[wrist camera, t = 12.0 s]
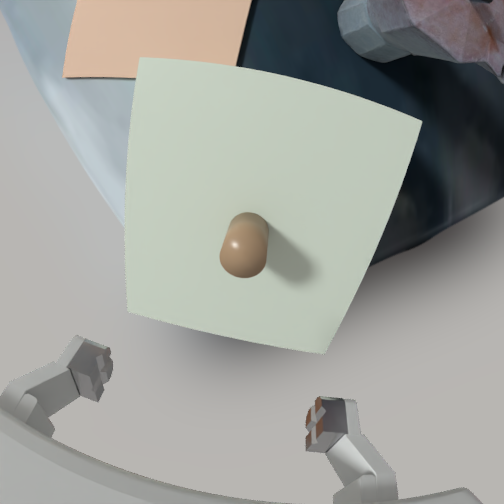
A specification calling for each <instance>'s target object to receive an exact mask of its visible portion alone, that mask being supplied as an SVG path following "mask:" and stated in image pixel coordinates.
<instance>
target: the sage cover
mask: <svg viewBox="0 0 504 504" xmlns="http://www.w3.org/2000/svg"><path fill="white" fill-rule="evenodd" d="M421 124H422V121H420V120H418V119H416V118H413V117H411V116H409V115H406V114H404V113H401V112H399V111H396V110H394V109H391V108H389V107H386V106H383V105H381V104H378V103H375V102H372V101H370V100H367V99H364V98H361V97H358V96H355V95H352V94H349V93H346V92H342V91H339V90H336V89H333V88H329V87H326V86H322V85H319V84H315V83H311V82H307V81H303V80H299V79H295V78H291V77H287V76H283V75H278V74H273V73H269V72H264V71H259V70H253V69H248V68H242V67H236V66H230V65H223V64H216V63H208V62H200V61H191V60H180V59H167V58H149V57H140V58H139V64H138V70H137V76H136V83H135V90H134V97H133V104H132V113H131V122H130V131H129V142H128V155H127V170H126V190H125V273H126V274H125V275H126V295H127V309H128V312H131V313H134V314H137V315H142V316H145V317H148V318H152V319H156V320H159V321H163V322H167V323H171V324H176V325H179V326H183V327H187V328H191V329H195V330H200V331H204V332H208V333H213V334H217V335H222V336H226V337H231V338H236V339H240V340H245V341H250V342H255V343H260V344H265V345H271V346H276V347H282V348H287V349H293V350H299V351H306V352H311V353H318V354H325V352H326V350H327V349H328V347H329V345H330V343H331V341H332V339H333V337H334V335H335V334H336V331H337V330H338V328H339V326H340V324H341V322H342V320H343V318H344V316H345V314H346V312H347V310H348V308H349V306H350V304H351V302H352V300H353V298H354V296H355V294H356V292H357V290H358V287H359V286H360V283H361V281H362V279H363V277H364V275H365V273H366V270H367V268H368V266H369V264H370V262H371V259H372V257H373V255H374V253H375V250H376V248H377V246H378V243H379V241H380V239H381V236H382V234H383V231H384V229H385V226H386V224H387V222H388V219H389V217H390V214H391V211H392V209H393V206H394V204H395V201H396V198H397V196H398V193H399V190H400V188H401V185H402V182H403V179H404V177H405V174H406V171H407V168H408V165H409V162H410V159H411V156H412V153H413V150H414V147H415V144H416V141H417V137H418V134H419V131H420V128H421Z"/></svg>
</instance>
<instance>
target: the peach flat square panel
mask: <svg viewBox="0 0 504 504" xmlns="http://www.w3.org/2000/svg"><path fill="white" fill-rule="evenodd" d="M251 3H252V0H77V4H76V8H75V12H74V16H73V20H72V25H71V29H70V34H69V39H68V44H67V50H66V56H65V62H64V69H63V76H62V78H66V77H124V78H136V76H137V70H138V64H139V58H140V57H149V58H167V59H180V60H191V61H200V62H208V63H216V64H223V65H230V66H236V65H237V61H238V56H239V52H240V48H241V43H242V39H243V35H244V31H245V27H246V22H247V18H248V14H249V10H250V6H251Z"/></svg>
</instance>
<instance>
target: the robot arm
mask: <svg viewBox="0 0 504 504" xmlns="http://www.w3.org/2000/svg"><path fill="white" fill-rule="evenodd" d="M110 354H111V351H110V348H109V347H106V346H104V345H101V344H98V343H96V342H93V341H90V340H88V339H86V338H83V337H81V336H78V335H76V336H74V337H73V338H72V339H71V341H70V342H69V344H68V345H67V347H66V348H65V350H64V352H63V353H62V354H61V356H60V357H59V359H58V360H57V362H56V363H55V362H51V363H49V364H47V365H45V366H43V367H41V368H38V369H36V370H34V371H32V372H30V373H28V374H26V375H23V376H21V377H19V378H17V379H15V380H13V381H11V382H9V384H8V385H7V387H6V389H5V390H4V392H3V393H2V395H1V396H0V504H289V503H276V502H275V503H274V502H264V501H255V500H247V499H240V498H234V497H227V496H222V495H216V494H211V493H206V492H201V491H196V490H192V489H188V488H183V487H179V486H175V485H172V484H168V483H164V482H161V481H157V480H154V479H151V478H147V477H144V476H141V475H138V474H135V473H132V472H129V471H126V470H124V469H121V468H118V467H115V466H113V465H110V464H108V463H105V462H102V461H100V460H97V459H95V458H93V457H90V456H88V455H86V454H84V453H81V452H79V451H77V450H75V449H73V448H71V447H68V446H66V445H64V444H62V443H60V442H58V441H56V440H54V439H52V438H51V437H52V435H53V432H54V431H55V428H54V426H53V424H52V423H51V421H50V420H49V418H48V417H49V416H51V415H53V414H54V413H56V412H57V411H59V410H60V409H62V408H63V407H65V406H66V405H68V404H69V403H71V402H72V401H74V400H75V399H77V398H78V397H80V396H83V397H86V398H88V399H91V400H93V401H96V402H98V401H99V399H100V397H101V395H102V393H103V391H104V387H103V384H104V383H106V382H108V381H109V379H110V377H111V374H112V370H113V361H112V359H111V358H110V357H109V356H110ZM306 429H307V430H308V431H309V434H308V435H307V436H306V451H309V452H320V453H326V456H327V458H328V459H329V461H330V463H331V465H332V466H333V468H334V470H335V471H336V473H337V475H338V476H339V478H340V480H341V481H342V483H343V485H344V486H345V487H344V488H343V489H342V490H340V491H338V492H337V493H336V494H334V495H333V504H482V502H481V501H480V500H479V499H478V498H477V497H476V496H475V495H474V494H473V493H472V492H471V491H470V490H469V489H467V488H464V487H463V488H457V489H453V490H449V491H444V492H440V493H435V494H430V495H425V496H420V497H413V498H407V499H400V500H398V491H397V483H396V475H395V472H394V471H393V470H392V468H391V467H390V466H389V465H388V463H387V462H386V461H385V460H384V459H383V457H382V456H381V455H380V454H379V452H378V451H377V450H376V449H375V447H374V446H373V445H372V444H371V443H370V441H369V440H368V439H367V438H366V436H365V435H362V434H361V431H360V424H359V416H358V409H357V403H356V401H355V400H351V399H342V398H332V397H322V396H319V397H317V399H316V400H315V405H314V406H312V407H311V408H310V409H309V411H308V414H307V417H306Z"/></svg>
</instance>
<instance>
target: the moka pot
mask: <svg viewBox="0 0 504 504" xmlns="http://www.w3.org/2000/svg"><path fill="white" fill-rule="evenodd" d="M337 18H338V24H339V29H340V33H341V37H342V38H343V39H344V41H345V42H346V43H347V44H348V45H349V46H350V47H351V48H352V49H353V50H354V51H355V52H356V53H357V54H359V55H360V56H362V57H365V58H367V59H370V60H373V61H376V62H381V63H386V62H389V61H392V60H395V59H398V58H402V57H405V56H407V55H410V54H412V55H414V56H416V55H420V56H427V57H432V58H437V59H442V60H447V61H451V62H455V63H472V62H475V63H476V64H478V65H480V66H482V67H483V68H485V69H487V70H488V71H490V72H491V73H493V74H494V75H495V76H497V78H498V79H499V80H500V82H501V83H502V84H504V0H344V2H343V3H342V5H341V6H340V8H339V11H338V13H337Z"/></svg>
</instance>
